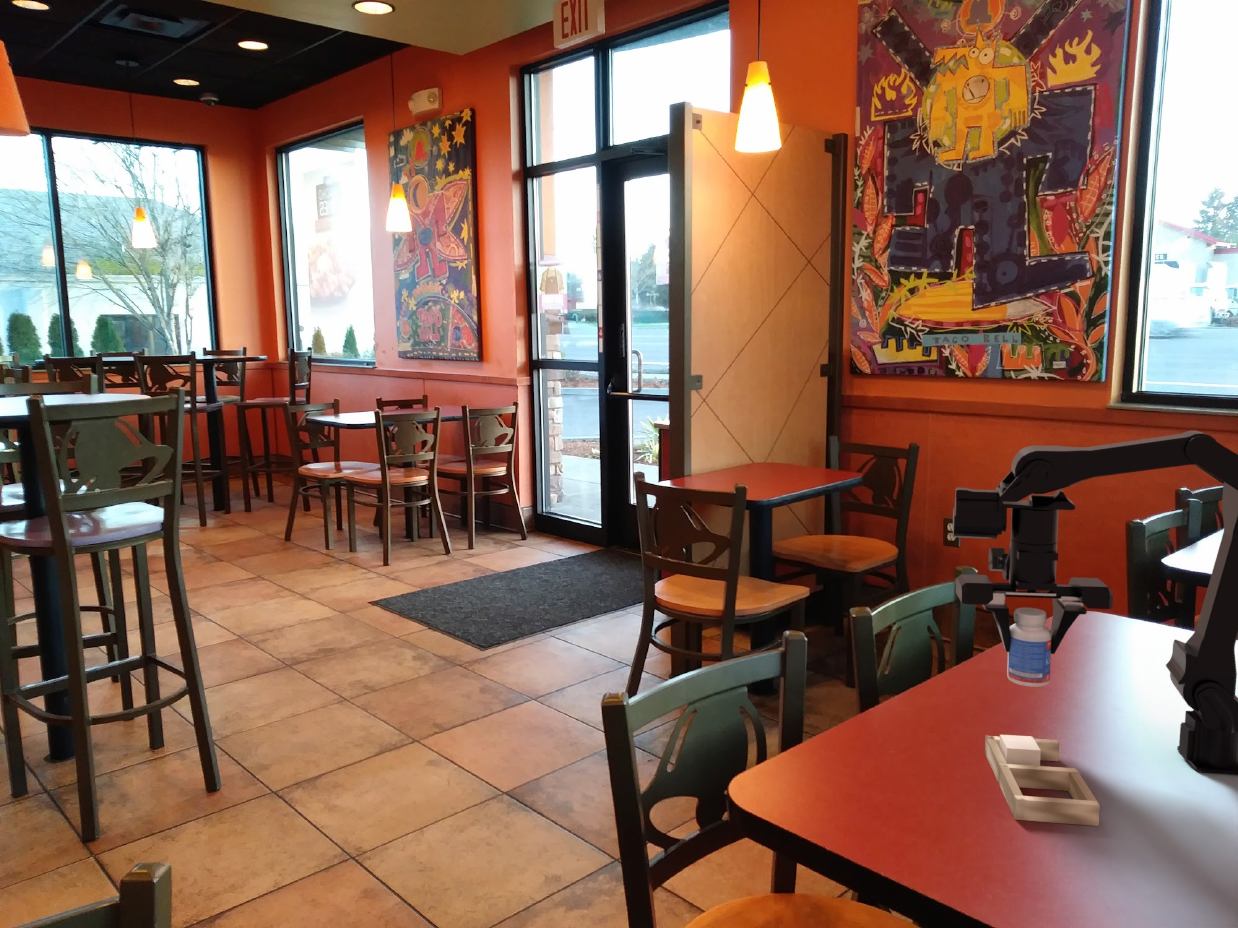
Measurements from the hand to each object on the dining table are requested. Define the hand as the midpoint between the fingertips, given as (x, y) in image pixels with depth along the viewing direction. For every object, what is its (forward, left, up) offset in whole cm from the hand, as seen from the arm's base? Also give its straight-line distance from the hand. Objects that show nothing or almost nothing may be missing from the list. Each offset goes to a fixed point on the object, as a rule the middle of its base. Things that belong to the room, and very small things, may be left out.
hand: (1029, 651), depth 122 cm
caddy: (+2, +13, -13) cm, 19 cm away
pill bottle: (0, 0, -4) cm, 4 cm away
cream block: (+3, +9, -13) cm, 16 cm away
